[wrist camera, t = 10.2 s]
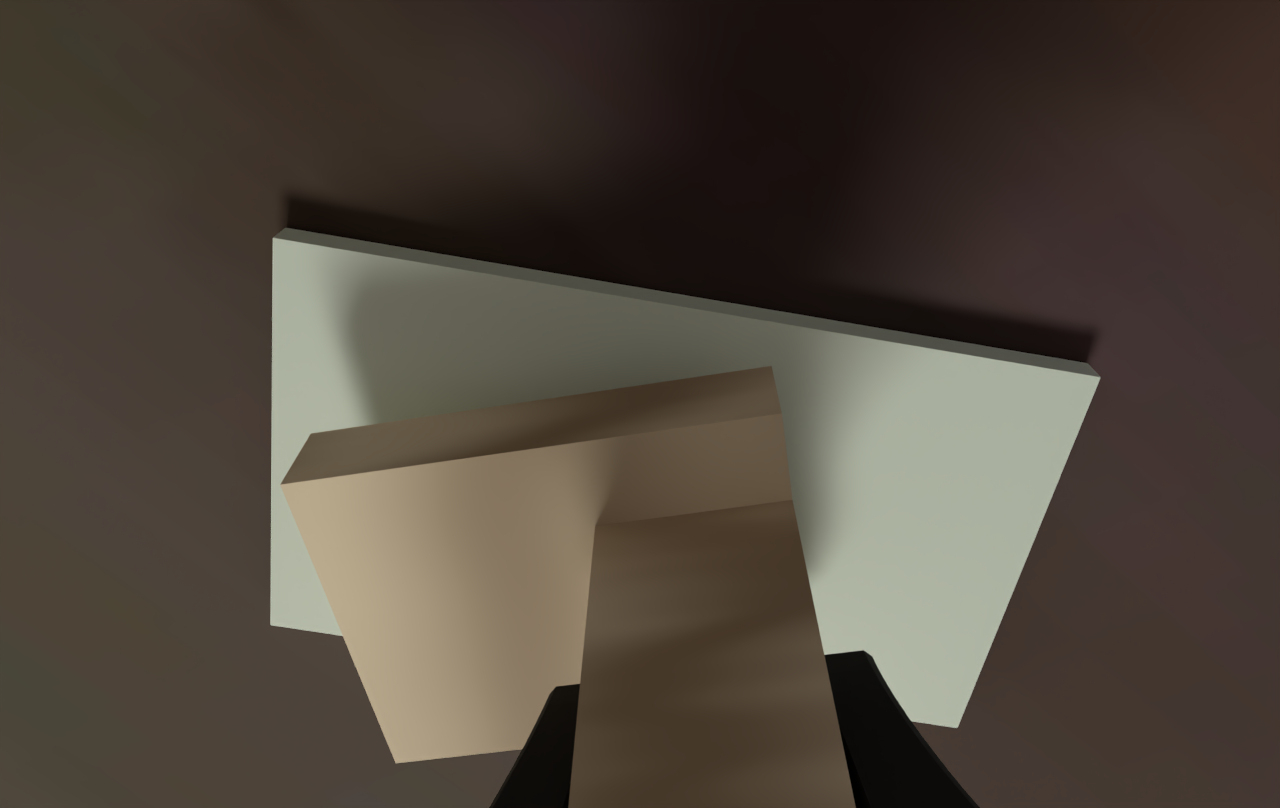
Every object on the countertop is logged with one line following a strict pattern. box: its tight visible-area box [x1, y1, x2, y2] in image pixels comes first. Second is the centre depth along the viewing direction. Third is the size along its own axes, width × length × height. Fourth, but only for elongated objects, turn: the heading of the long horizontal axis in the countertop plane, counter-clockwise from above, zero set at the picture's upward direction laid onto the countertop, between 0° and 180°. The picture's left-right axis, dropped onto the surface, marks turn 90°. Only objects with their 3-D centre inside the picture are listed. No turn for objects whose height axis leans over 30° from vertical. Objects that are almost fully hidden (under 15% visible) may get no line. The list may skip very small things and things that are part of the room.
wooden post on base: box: [280, 366, 856, 808], centre depth 14 cm, size 8×6×8 cm
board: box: [270, 228, 1101, 728], centre depth 19 cm, size 14×8×1 cm, turn 80°
